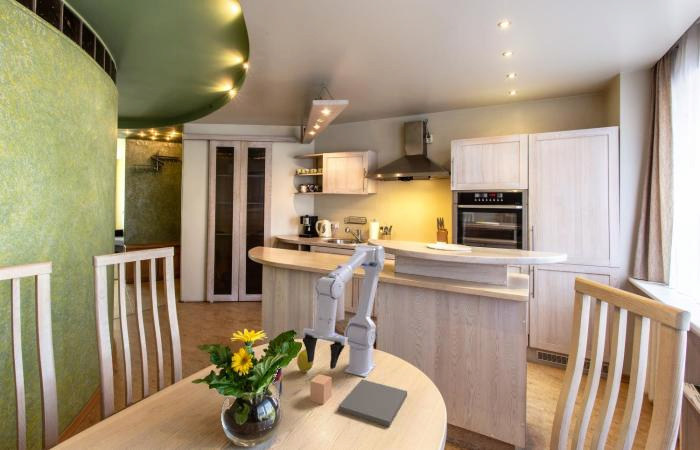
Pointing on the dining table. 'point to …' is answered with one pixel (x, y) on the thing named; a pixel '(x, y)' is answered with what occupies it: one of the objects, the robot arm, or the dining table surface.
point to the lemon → (304, 361)
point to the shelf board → (374, 402)
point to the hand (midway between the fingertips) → (321, 364)
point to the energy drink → (278, 381)
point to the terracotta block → (321, 389)
